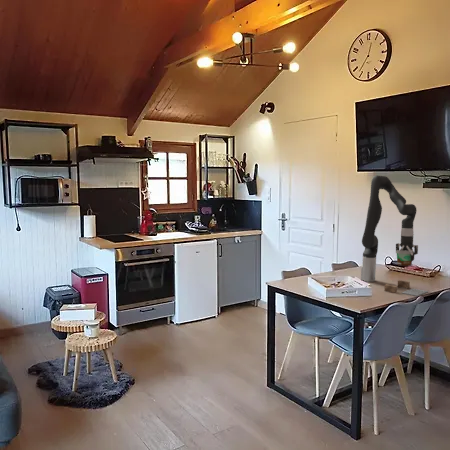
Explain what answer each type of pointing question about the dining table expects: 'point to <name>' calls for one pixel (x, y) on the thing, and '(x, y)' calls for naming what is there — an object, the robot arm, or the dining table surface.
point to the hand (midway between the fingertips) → (406, 260)
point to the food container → (403, 258)
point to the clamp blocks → (400, 284)
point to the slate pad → (414, 292)
